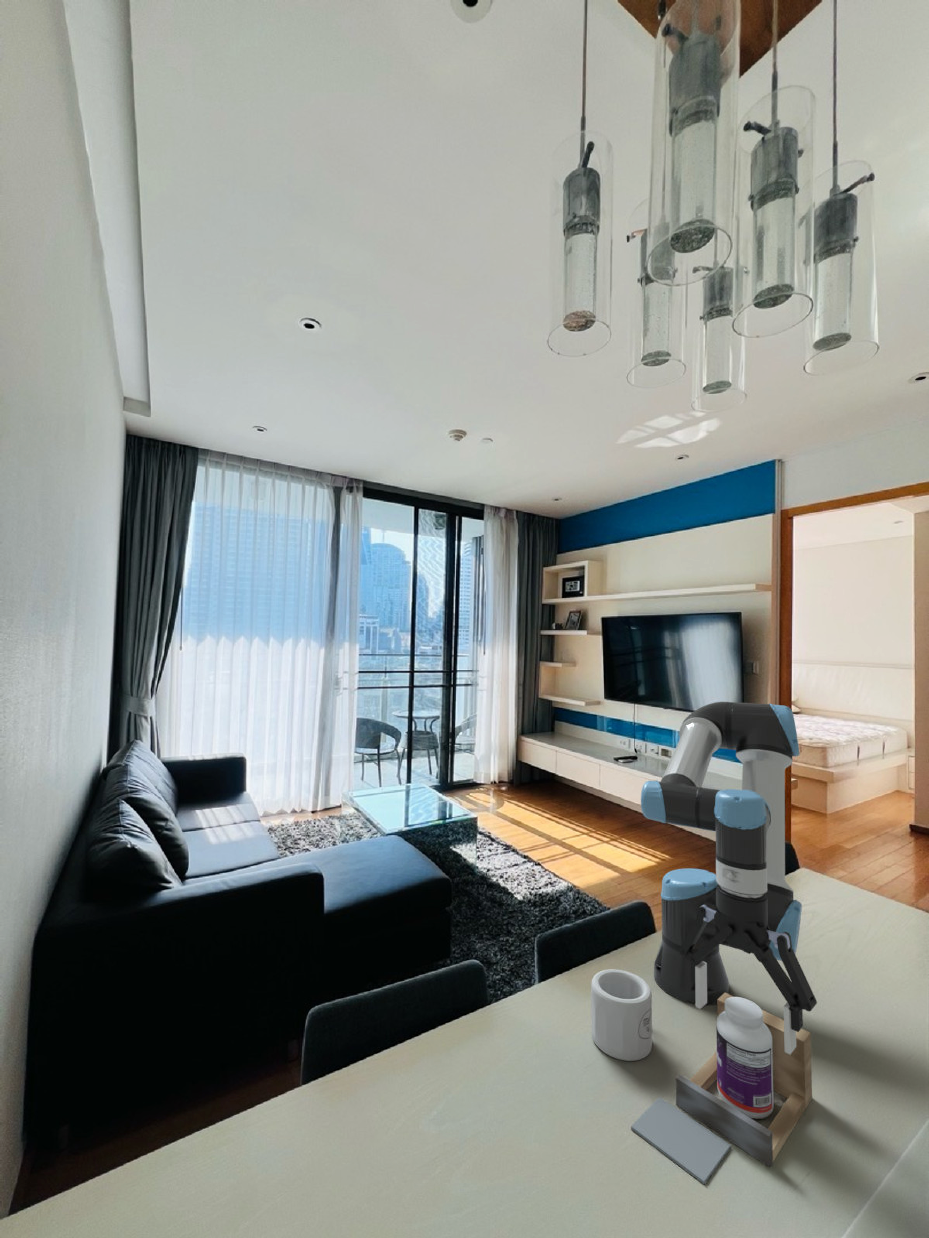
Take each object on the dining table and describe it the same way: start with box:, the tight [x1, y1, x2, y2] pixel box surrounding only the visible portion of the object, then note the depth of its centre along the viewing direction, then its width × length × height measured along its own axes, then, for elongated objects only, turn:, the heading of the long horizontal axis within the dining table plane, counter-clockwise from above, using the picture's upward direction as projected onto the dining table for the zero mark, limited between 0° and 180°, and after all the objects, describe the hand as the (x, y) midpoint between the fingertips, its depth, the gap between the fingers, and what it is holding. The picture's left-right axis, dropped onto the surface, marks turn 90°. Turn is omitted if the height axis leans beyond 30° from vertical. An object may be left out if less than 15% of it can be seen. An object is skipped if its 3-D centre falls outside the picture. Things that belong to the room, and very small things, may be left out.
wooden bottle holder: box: [675, 993, 813, 1168], centre depth 86 cm, size 14×18×10 cm
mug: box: [590, 968, 653, 1062], centre depth 100 cm, size 14×11×10 cm
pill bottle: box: [715, 996, 775, 1120], centre depth 86 cm, size 8×8×14 cm
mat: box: [630, 1096, 732, 1185], centre depth 78 cm, size 11×8×1 cm
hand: (743, 1025), depth 86 cm, fingers open, 13 cm apart
